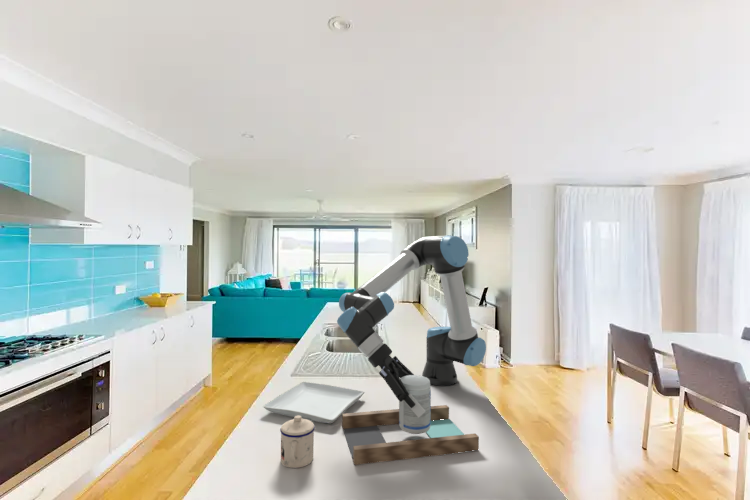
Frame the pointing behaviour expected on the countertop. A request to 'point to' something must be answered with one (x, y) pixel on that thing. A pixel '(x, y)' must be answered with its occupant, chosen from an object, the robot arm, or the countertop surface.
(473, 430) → the countertop surface
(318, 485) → the countertop surface
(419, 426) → the supplement tub
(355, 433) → the trap mat
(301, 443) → the teacup with lid
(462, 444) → the channel rails
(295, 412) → the square plate
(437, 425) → the pad
